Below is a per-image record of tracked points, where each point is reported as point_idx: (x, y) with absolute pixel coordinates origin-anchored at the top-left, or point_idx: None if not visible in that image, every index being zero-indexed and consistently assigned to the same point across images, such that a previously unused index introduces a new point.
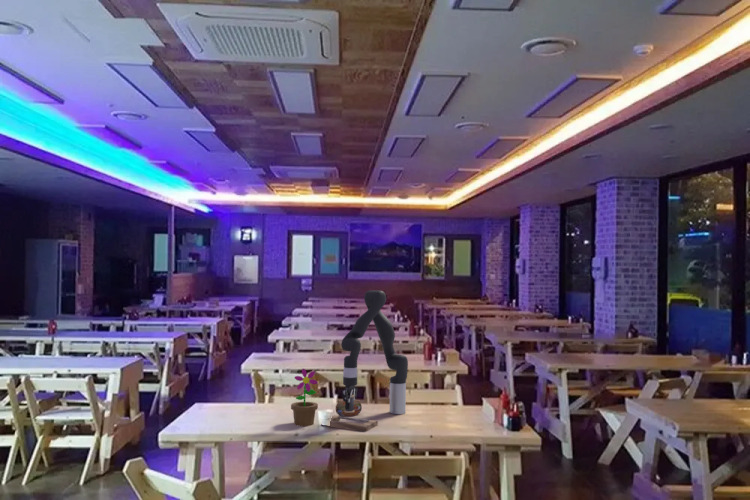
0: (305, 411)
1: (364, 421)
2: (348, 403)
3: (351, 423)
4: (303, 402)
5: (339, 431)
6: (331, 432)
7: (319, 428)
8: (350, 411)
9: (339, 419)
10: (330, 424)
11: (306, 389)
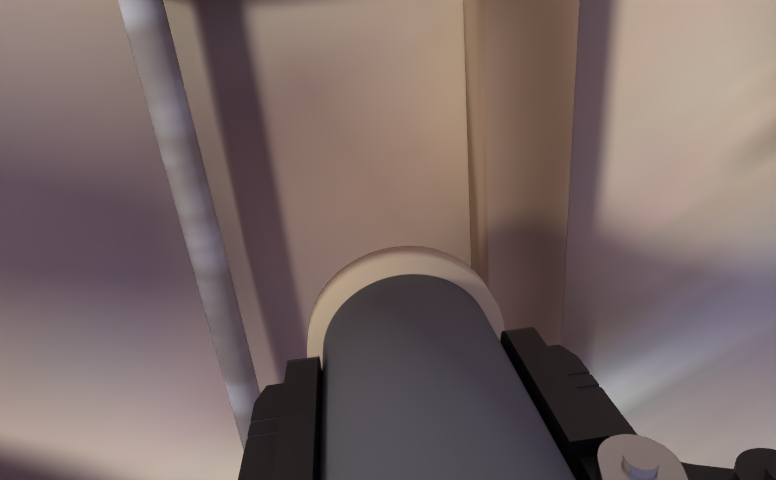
0: None
1: (186, 103)
2: (595, 429)
3: (510, 147)
4: None
5: (681, 172)
6: (749, 221)
7: (639, 398)
8: (482, 284)
9: None
10: None
11: None
